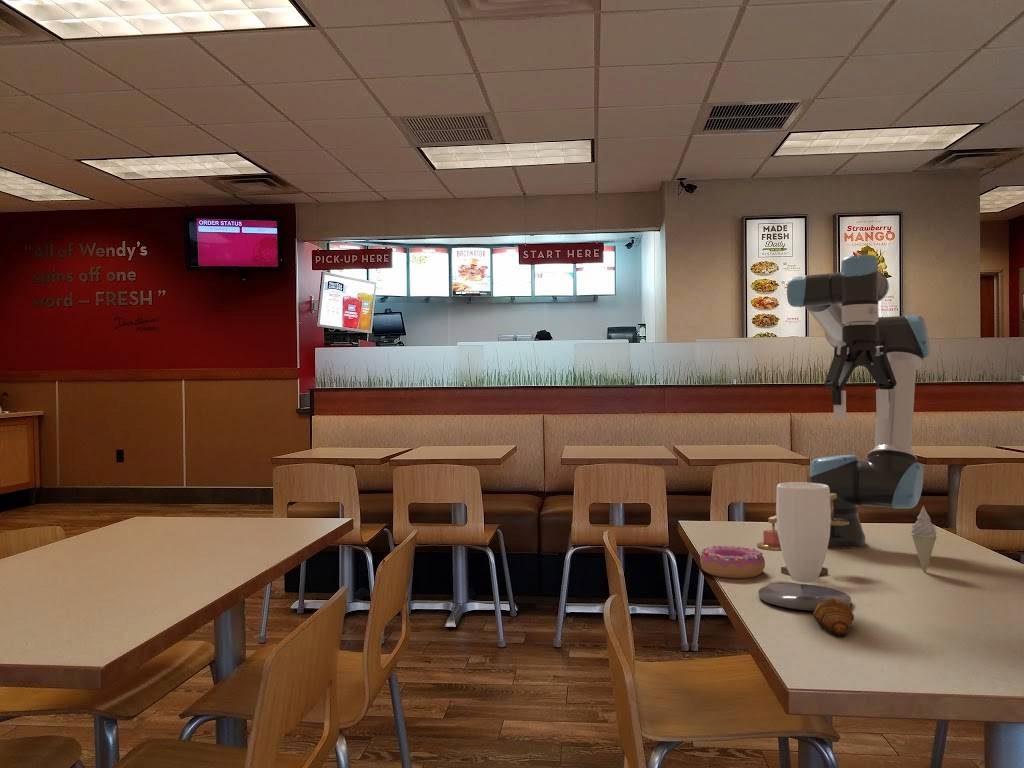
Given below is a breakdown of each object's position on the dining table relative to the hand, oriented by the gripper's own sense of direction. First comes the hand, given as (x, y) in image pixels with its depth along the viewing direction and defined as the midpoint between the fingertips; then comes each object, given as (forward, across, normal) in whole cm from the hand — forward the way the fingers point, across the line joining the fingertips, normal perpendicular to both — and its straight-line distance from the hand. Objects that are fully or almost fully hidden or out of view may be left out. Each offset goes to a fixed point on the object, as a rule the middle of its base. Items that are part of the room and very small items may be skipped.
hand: (861, 419), depth 171 cm
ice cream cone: (+35, +12, -6) cm, 37 cm away
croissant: (+35, -36, -24) cm, 56 cm away
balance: (+34, -12, +6) cm, 37 cm away
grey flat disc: (+34, -29, -10) cm, 46 cm away
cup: (+33, -29, -10) cm, 45 cm away
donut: (+35, -25, +15) cm, 45 cm away
